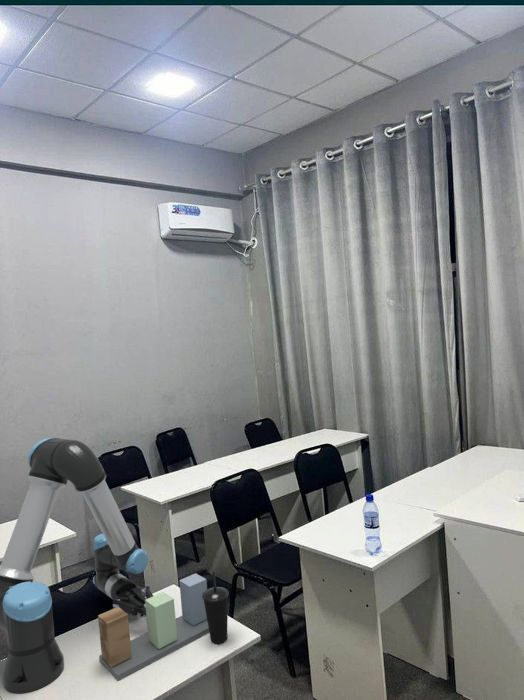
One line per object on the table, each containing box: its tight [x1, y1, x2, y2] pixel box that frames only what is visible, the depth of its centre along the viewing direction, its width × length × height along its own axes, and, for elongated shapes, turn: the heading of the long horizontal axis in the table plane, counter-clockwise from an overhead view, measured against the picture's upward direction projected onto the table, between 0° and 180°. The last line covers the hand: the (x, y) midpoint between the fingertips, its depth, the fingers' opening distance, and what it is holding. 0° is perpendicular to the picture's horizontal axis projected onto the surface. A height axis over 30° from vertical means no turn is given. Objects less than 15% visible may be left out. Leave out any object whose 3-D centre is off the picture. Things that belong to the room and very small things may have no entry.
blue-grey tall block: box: [178, 573, 208, 626], centre depth 159 cm, size 6×6×12 cm
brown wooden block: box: [97, 607, 132, 667], centre depth 142 cm, size 6×6×12 cm
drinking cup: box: [202, 571, 230, 645], centre depth 150 cm, size 8×8×20 cm
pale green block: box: [145, 591, 177, 649], centre depth 149 cm, size 6×6×12 cm
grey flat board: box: [98, 615, 210, 681], centre depth 150 cm, size 12×32×2 cm, turn 130°
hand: (157, 616), depth 152 cm, fingers closed
